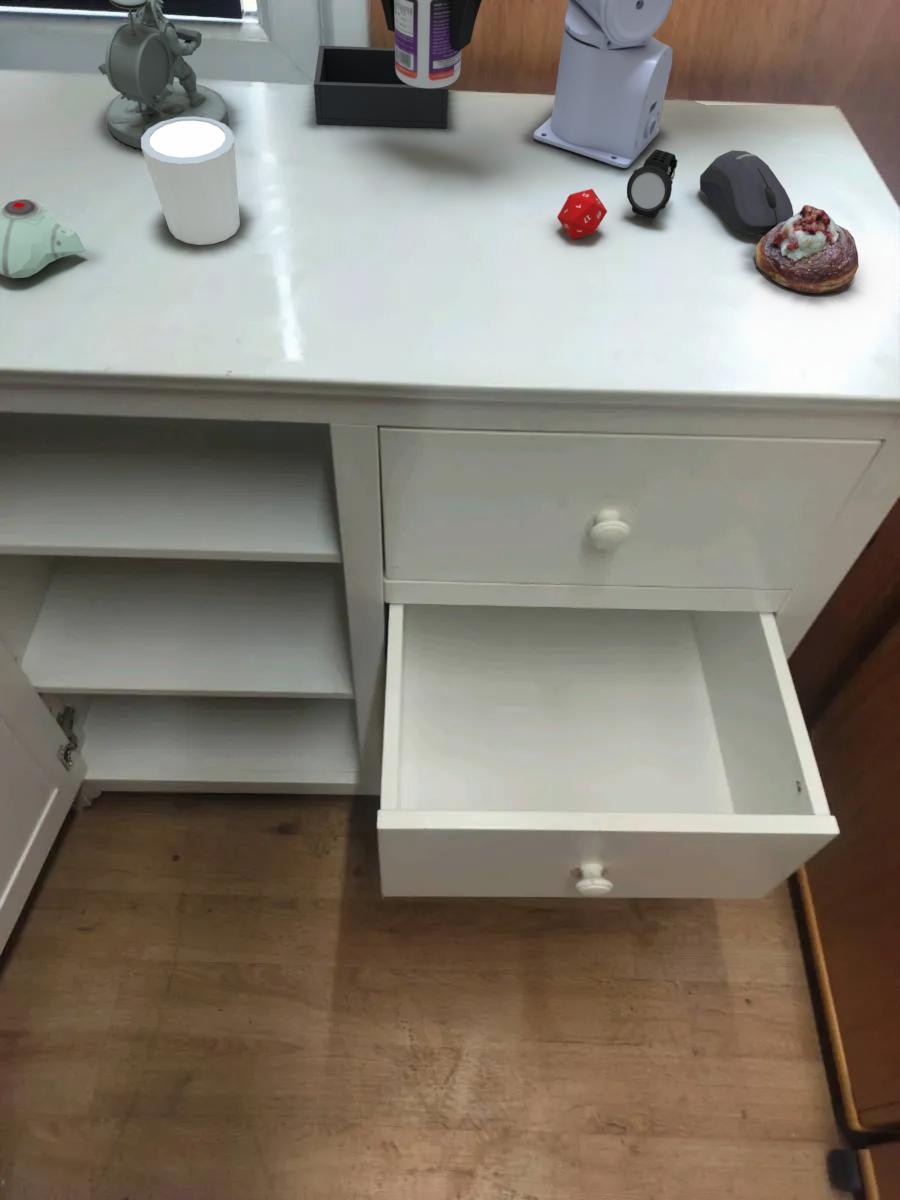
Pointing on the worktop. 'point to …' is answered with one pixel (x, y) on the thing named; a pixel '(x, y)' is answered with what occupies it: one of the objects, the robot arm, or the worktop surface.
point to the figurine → (153, 74)
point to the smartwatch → (652, 184)
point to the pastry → (808, 253)
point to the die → (582, 214)
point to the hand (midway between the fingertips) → (428, 35)
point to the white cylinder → (194, 177)
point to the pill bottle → (425, 43)
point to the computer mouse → (746, 192)
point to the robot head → (32, 239)
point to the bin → (372, 91)
